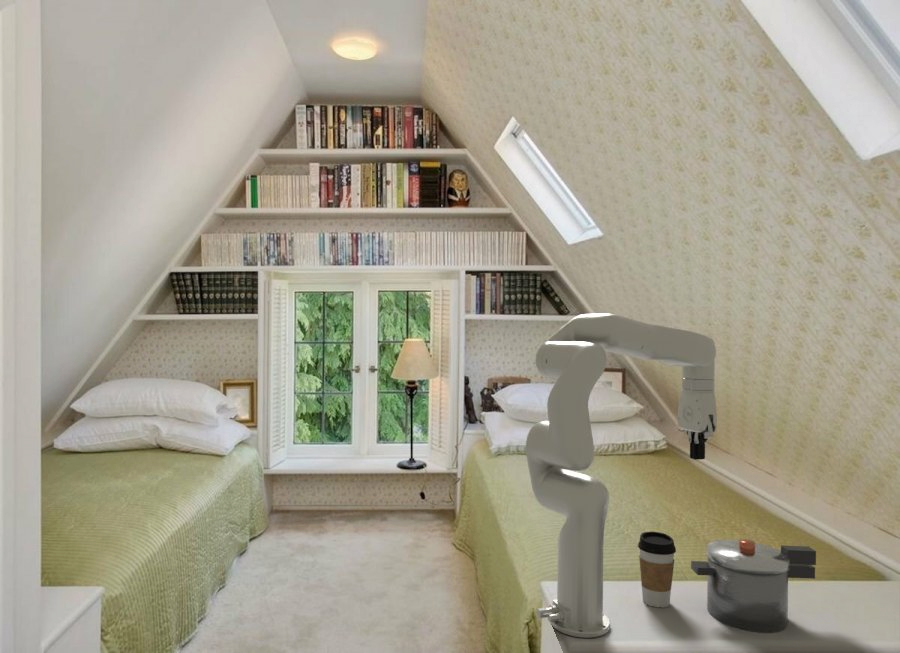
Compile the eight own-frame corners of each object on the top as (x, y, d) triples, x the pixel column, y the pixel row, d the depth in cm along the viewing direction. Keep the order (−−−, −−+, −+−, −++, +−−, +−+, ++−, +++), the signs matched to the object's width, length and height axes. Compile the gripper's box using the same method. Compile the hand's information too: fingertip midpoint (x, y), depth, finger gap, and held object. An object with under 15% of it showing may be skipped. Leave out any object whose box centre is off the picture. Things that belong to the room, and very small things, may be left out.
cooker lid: (722, 572, 125) (722, 553, 126) (695, 545, 142) (696, 528, 142) (833, 577, 124) (833, 558, 124) (793, 549, 140) (793, 532, 140)
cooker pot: (707, 630, 125) (708, 572, 126) (681, 597, 141) (681, 546, 142) (832, 635, 124) (832, 577, 125) (791, 601, 140) (791, 549, 141)
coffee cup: (669, 595, 143) (670, 532, 143) (680, 611, 134) (680, 543, 134) (633, 593, 143) (634, 530, 144) (641, 609, 135) (642, 542, 135)
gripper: (667, 383, 158) (667, 453, 157) (703, 388, 143) (703, 465, 143) (692, 383, 159) (692, 452, 159) (731, 388, 145) (730, 464, 144)
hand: (697, 458), depth 151 cm, fingers closed
